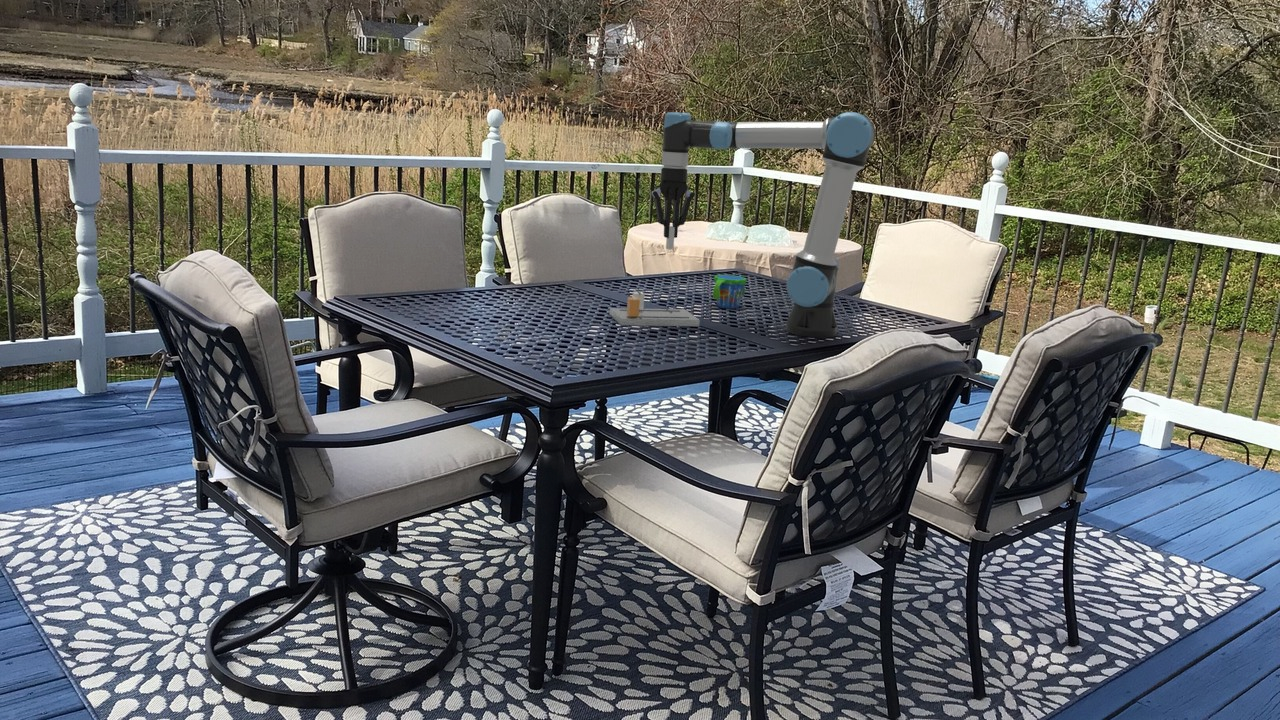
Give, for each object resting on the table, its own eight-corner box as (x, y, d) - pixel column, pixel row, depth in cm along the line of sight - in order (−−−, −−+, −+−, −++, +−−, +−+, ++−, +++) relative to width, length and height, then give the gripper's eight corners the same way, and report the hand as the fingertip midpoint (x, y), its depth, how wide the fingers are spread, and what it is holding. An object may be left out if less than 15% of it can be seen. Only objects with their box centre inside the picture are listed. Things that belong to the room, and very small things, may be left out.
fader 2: (638, 316, 289) (639, 298, 288) (629, 316, 288) (630, 298, 287) (635, 314, 292) (636, 296, 291) (626, 313, 292) (627, 296, 291)
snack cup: (731, 302, 336) (733, 273, 334) (755, 308, 329) (757, 278, 327) (700, 306, 326) (702, 276, 323) (724, 312, 319) (726, 281, 316)
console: (699, 326, 293) (699, 319, 292) (621, 325, 287) (621, 318, 286) (684, 315, 308) (684, 308, 308) (609, 314, 303) (609, 307, 302)
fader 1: (643, 310, 299) (644, 292, 298) (634, 309, 299) (635, 292, 297) (640, 307, 303) (641, 290, 302) (631, 307, 302) (632, 290, 301)
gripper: (692, 167, 288) (687, 247, 294) (649, 165, 285) (645, 246, 291) (699, 169, 281) (694, 251, 287) (656, 167, 278) (651, 250, 284)
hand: (669, 248), depth 289 cm, fingers closed
